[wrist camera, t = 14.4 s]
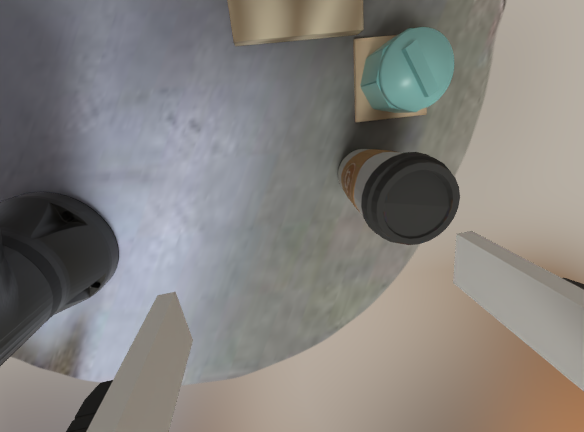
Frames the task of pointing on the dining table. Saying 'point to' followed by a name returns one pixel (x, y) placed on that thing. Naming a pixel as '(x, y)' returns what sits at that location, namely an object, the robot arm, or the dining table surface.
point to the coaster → (361, 52)
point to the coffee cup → (400, 193)
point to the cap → (408, 71)
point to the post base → (293, 20)
